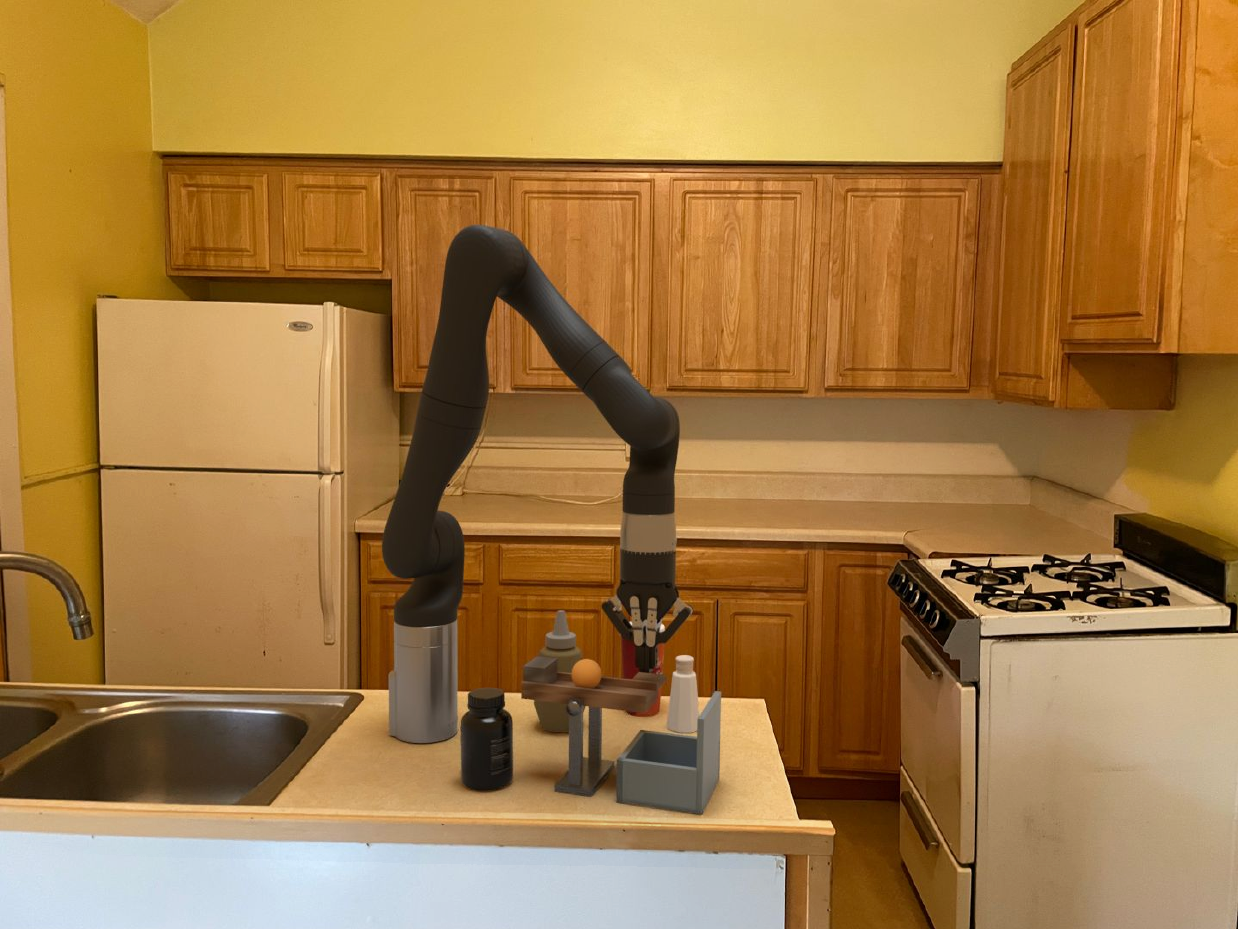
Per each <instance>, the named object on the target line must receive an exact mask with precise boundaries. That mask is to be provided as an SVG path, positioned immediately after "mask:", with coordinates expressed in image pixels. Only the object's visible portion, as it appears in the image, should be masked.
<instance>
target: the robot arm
mask: <svg viewBox="0 0 1238 929" xmlns="http://www.w3.org/2000/svg"><path fill="white" fill-rule="evenodd" d="M443 272H444V273H443V279H442V289H441V297H440V298H441V299H440V303H439V304H440V306H439V314H438V320H437V326H436V328H435V329H436V330H435V334H434V339H433V342H432V346H431V351H430V356H429V361H428V367H427V370H426V374H425V378H424V382H423V385H422V387H421V388H422V389H421V393H420V397H419V402H418V406H417V412H416V416H415V421H414V428H413V432H412V436H411V439H410V440H411V441H410V443H409V448H408V452H407V455H406V458H405V459H406V460H405V464H404V468H403V472H402V474H401V478H400V482H399V484H398V487H397V491H396V494H395V497H394V499H393V501H392V506H391V508H390V511H389V514H388V516H387V520H386V523H385V526H384V530H383V535H382V539H381V554H382V555H381V556H382V559H383V562H384V564H385V566H386V569H387V570H388V571H389V573H390V574H391V575H392V576H393V577H395V578H399V579H402V580H407V579H413V581H412V583H411V585H410V587H409V588H408V589H407V590H406V591H405V593H404V594H402V595H401V596H400V597H399V598H398V599H397V600H396V602H395V604H394V606H393V607H394V608H393V641H394V643H393V648H394V649H393V651H394V653H393V655H394V657H393V658H394V660H393V661H394V662H393V663H394V665H393V667H394V668H393V670H391V671H390V672H389V673H388V735H389V736H393V737H396V738H397V739H398V740H400V741H403V742H407V743H414V744H415V743H416V744H430V743H437V742H441V741H445V740H448V739H450V738H452V737H453V736H455V735H456V734H457V732H458V720H459V717H458V610H459V606H460V604H461V601H462V599H463V598H462V597H463V594H464V575H465V574H464V573H465V556H466V555H465V554H466V550H465V549H466V548H465V537H464V533H463V532H464V531H463V529H462V526H461V525H460V523H459V521H458V520H457V519H456V517H455V516H454V515H453V514H452V513H449V512H447V511H443V510H439V506H440V503H441V500H442V498H443V494H445V493H444V492H445V490H446V488H447V486H448V485H449V483H450V481H451V480H452V479H453V477H454V476H455V474H456V473H457V472H458V471H459V469H460V468H461V466H462V465H463V463H464V462H465V460H466V459H467V457H468V455H469V454H470V453H471V451H472V450H473V448H474V446H475V445H476V443H477V440H478V439H479V436H480V434H481V430H482V426H483V422H484V418H485V414H486V410H487V405H488V401H489V395H490V394H489V393H490V377H489V367H488V365H489V364H488V356H487V336H488V329H489V324H490V320H491V315H492V312H493V309H494V306H495V301H496V299H497V298H498V299H500V300H502V301H503V302H505V303H506V304H507V305H508V306H510V307H511V308H512V309H514V310H515V311H516V312H517V313H518V314H519V315H520V316H521V317H522V318H524V320H525V321H527V323H528V325H529V326H531V328H532V329H533V330H534V331H535V334H536V335H537V336H538V338H539V339H540V342H542V344H543V346H544V348H545V349H546V351H547V353H548V354H549V356H550V357H551V358H552V360H553V361H554V363H555V364H556V365H557V367H558V368H559V369H560V371H562V372H563V373H564V375H566V377H567V378H568V379H569V380H570V381H571V382H572V383H573V384H574V385H575V386H576V387H577V388H578V390H580V391H581V392H582V393H583V394H584V395H585V396H586V397H587V398H588V399H589V400H591V401H592V403H593V404H594V405H595V406H596V408H597V410H598V411H599V413H600V414H601V416H603V418H604V419H605V421H606V422H607V423H608V424H609V426H610V427H611V429H612V430H613V431H614V432H615V433H616V434H617V436H618V437H620V439H622V441H623V442H625V443H626V444H628V446H629V449H630V450H629V464H628V468H627V470H626V472H625V474H624V475H623V476H624V477H623V481H622V508H621V509H622V514H621V523H620V534H619V536H620V538H619V539H620V540H619V545H620V546H619V547H620V548H619V583H618V587H617V588H616V592H615V593H616V594H615V595H614V596H613V597H611V598H608V599H606V600H605V601H604V602H602V603H601V606H600V607H601V609H602V611H603V612H604V614H605V615H606V617H607V618H608V619H609V621H610V622H611V624H612V625H613V627H614V628H615V629H616V631H617V632H618V633H619V636H620V635H621V636H622V638H623V639H625V640H630V641H632V642H633V643H634V644H635V665H636V668H639V672H642V673H651V672H652V671H653V669H654V668H655V667H656V666H657V664H658V644H660V643H665V644H667V642H668V641H670V639H672V637H673V636H674V634H675V633H676V632H677V631H678V630H679V629H680V628H681V627H682V626H683V624H684V623H685V622H686V620H688V619H689V618H690V616H691V615H692V614H693V612H694V606H693V605H691V604H686V603H685V602H684V601H683V600H682V599H681V598H680V592H679V590H678V588H677V585H676V575H677V574H676V568H677V564H676V563H677V559H676V558H677V543H678V542H677V541H678V537H677V524H676V523H677V522H676V517H675V516H676V515H675V510H676V509H675V506H676V504H675V501H676V500H675V499H676V487H675V484H676V483H675V473H676V472H675V471H676V468H677V467H676V466H677V460H678V454H679V446H680V436H681V435H680V431H681V427H680V426H681V424H680V416H679V413H678V411H677V409H676V408H675V406H674V405H673V403H671V401H668V399H665V398H663V397H659V396H653V394H651V393H650V392H649V391H648V389H647V388H645V387H644V386H643V385H642V384H641V383H640V381H638V380H637V378H636V377H635V376H634V375H633V374H632V369H631V367H630V366H629V365H628V363H627V362H626V361H625V360H624V359H623V358H622V356H620V354H619V353H618V352H616V351H615V349H614V348H613V347H612V346H611V345H610V344H609V343H608V342H607V341H606V339H604V338H603V337H602V336H601V335H600V334H599V333H598V332H597V331H595V329H594V328H593V327H592V326H590V324H588V323H587V321H586V320H585V319H584V318H583V317H582V316H581V315H580V314H579V313H578V312H577V311H576V309H574V308H573V306H572V305H570V303H569V302H568V301H567V300H566V299H565V297H564V296H563V295H562V294H561V293H560V291H559V290H558V289H557V288H556V287H555V285H553V283H552V282H551V280H550V279H549V278H548V276H547V275H546V273H545V272H544V271H543V269H542V267H541V266H540V265H539V264H538V262H537V261H536V259H535V258H534V256H533V255H532V254H531V252H530V251H529V249H528V248H527V247H526V246H525V244H524V242H523V241H522V240H521V239H520V238H519V237H518V236H517V235H516V234H514V233H513V232H510V231H509V230H508V229H507V230H506V229H503V228H500V227H494V226H490V225H489V226H488V225H485V224H484V225H483V224H471V225H468V226H466V227H464V228H462V229H461V230H459V232H458V233H456V235H455V236H454V238H453V239H452V241H451V243H450V244H449V247H448V250H447V254H446V258H445V264H444V271H443ZM673 607H674V610H673V611H672V614H673V616H674V617H675V618H674V619H673V620H672V621H671V622H670V623H669V625H668V626H666V627H665V631H664V632H660V627H661V624H663V623H662V621H663V619H664V617H665V616H666V615H667V614H668V613H670V612H669V611H670V610H671V609H672V608H673ZM623 608H624V609H625V611H626V612H627V614H628V615H629V617H631V621H629V619H628V618H627V617H626V615H625V614H624V612H623V610H622V609H623ZM630 622H632V625H631V624H630ZM621 636H620V637H621Z"/></svg>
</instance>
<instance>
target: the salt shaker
mask: <svg viewBox="0 0 1238 929" xmlns="http://www.w3.org/2000/svg"><path fill="white" fill-rule="evenodd" d="M694 661H695V659H694V657H693V656H691V655H688V654H684V655H683V654H682V655H677V656H676V657H675V668H676V669H675V671H673V672H672V677H671V685H670V695H669V700H668V701H669V702H668V712H667V719H666V727H667V729H668V731H669V730H670V731H671V732H674V733H676V734H686V733H687V734H692V733H695V732H697V719H698V717H699V716H700V709H699V707H700V706H699V694H698V684H697V683H698V682H697V673H696V672H695V671H694Z"/></svg>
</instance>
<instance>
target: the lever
mask: <svg viewBox="0 0 1238 929" xmlns="http://www.w3.org/2000/svg"><path fill="white" fill-rule="evenodd" d="M522 670H523V671H522V673H523V674H522V676H523V677H522V681H521V682H520V685H521V688H520V689H521V692H520V693H521V696H520V697H521V699H522V700H531V701H534V700H537V701H546V702H554V703H563V704H569V700H570V699H571V698H575V699H584V703H583V706H586V707H588V708H589V707H597V708H602V709H606V710H613V711H614V710H615V711H624V712H625V711H631V712H639V713H646V712H647V711H648V710H649V709H650V707H651V706H652V705H653V704H654V703H655V701H656V700H657V699H658V690H659V689H660V688H661V689H662V687H661V686H664V684H665V683H666V681H667V674H653V673H642V672H638V673H637V675H636V676H635V677H634V678H633V679H623V677H612V676H603V675H602V676H601V680H600V682H599V684H598V685H597V686H596V687H595V688H593V689H591V688H582V687H577V686H576V685H575V684H574V683H573V681H572V677H571V673H567V672H558V671H557V658H548V657H539V655H538V656H535V657H534V658H532V659H531V660H530V661H529V662H527V663H525V664H524V665H523V666H522Z"/></svg>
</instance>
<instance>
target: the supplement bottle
mask: <svg viewBox="0 0 1238 929" xmlns="http://www.w3.org/2000/svg"><path fill="white" fill-rule="evenodd" d="M505 699H506V698H505V691H504V690H502V689H501V688H495V687H480V688H475V689H471V690H470V691H469V692H468V693H467V704H466V705H467V710H468V711H467V712H465V713H463V715H462V717H461V719H460V724H459V725H460V727H459V728H460V768H461V770H460V774H461V783H462V784H463V786H464V787H466V788H467V789H469V790H471V791H477V792H490V791H491V792H492V791H497V790H500V789H504V788H505V787H507V786H508V785H510V784H511V782H512V781H513V779H514V735H513V734H514V730H513V729H514V728H513V727H514V726H513V725H514V724H513V717H512V715H511V713H510V712H509V711H508V710H506V709H505V707H506V701H505Z"/></svg>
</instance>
